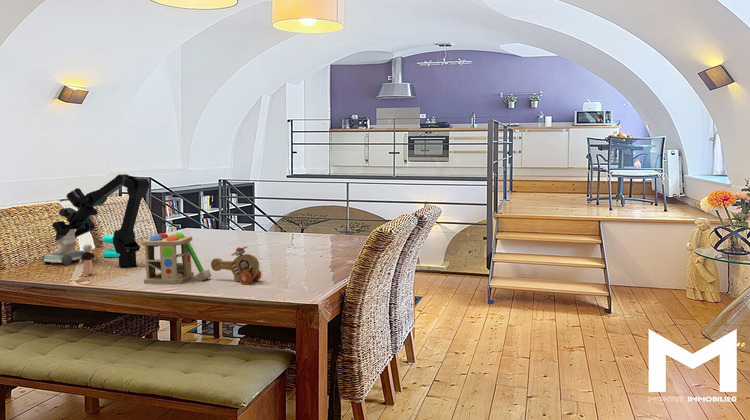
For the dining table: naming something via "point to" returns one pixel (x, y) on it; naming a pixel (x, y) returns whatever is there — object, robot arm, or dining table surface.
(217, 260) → the toy helicopter
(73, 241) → the beige stone block
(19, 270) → the dining table surface
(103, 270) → the dining table surface
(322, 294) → the dining table surface
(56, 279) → the dining table surface
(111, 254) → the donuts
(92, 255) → the grandmother figurine
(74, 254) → the chassis
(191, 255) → the pounding bench toy
